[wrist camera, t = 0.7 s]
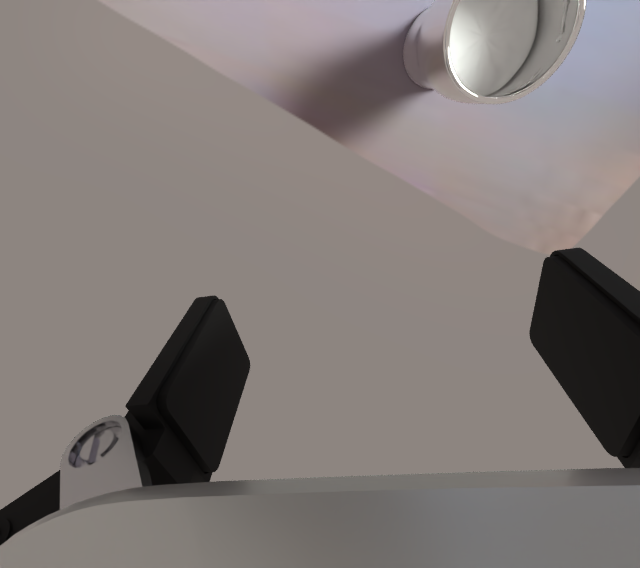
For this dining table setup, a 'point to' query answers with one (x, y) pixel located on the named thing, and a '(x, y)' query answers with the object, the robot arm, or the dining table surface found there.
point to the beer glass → (490, 46)
